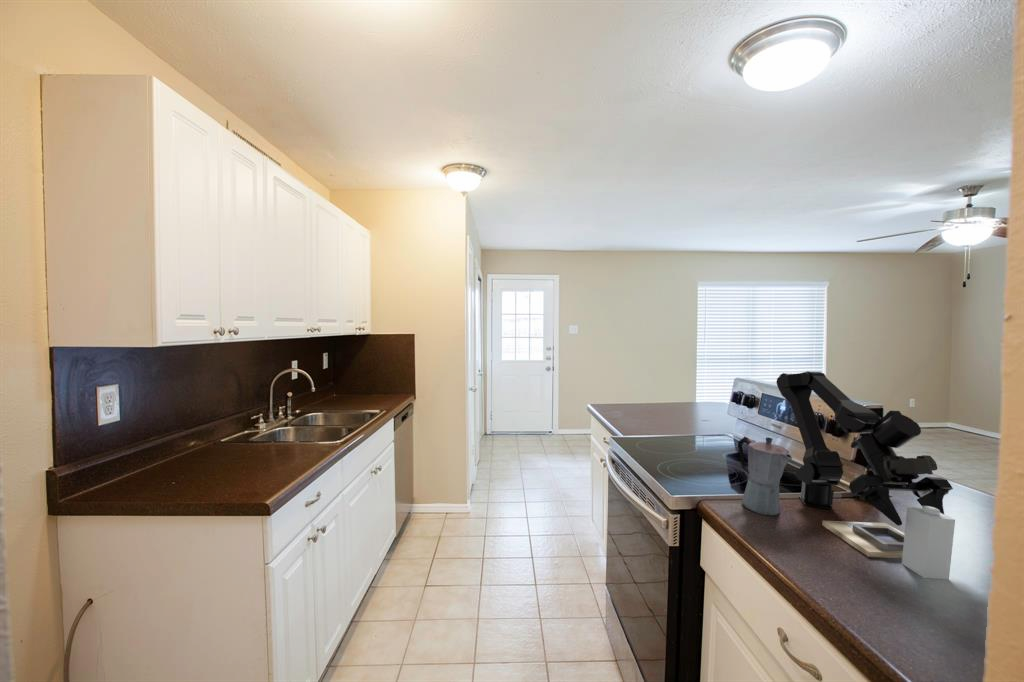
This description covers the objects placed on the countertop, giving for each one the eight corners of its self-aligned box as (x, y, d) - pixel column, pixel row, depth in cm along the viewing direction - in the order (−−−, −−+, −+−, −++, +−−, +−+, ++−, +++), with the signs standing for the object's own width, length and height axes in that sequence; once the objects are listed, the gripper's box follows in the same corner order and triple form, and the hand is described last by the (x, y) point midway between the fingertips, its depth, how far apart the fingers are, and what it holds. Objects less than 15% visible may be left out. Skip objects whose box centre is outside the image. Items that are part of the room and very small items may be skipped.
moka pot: (776, 524, 106) (782, 446, 105) (721, 499, 120) (726, 430, 119) (798, 516, 111) (804, 442, 109) (743, 493, 124) (747, 427, 123)
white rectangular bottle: (901, 563, 90) (907, 502, 90) (925, 564, 90) (931, 503, 90) (924, 578, 85) (930, 513, 85) (948, 579, 85) (955, 514, 85)
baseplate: (822, 525, 106) (823, 514, 106) (885, 527, 106) (886, 517, 106) (868, 556, 92) (869, 545, 92) (941, 560, 92) (942, 548, 92)
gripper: (863, 439, 93) (904, 510, 83) (948, 442, 93) (1000, 514, 83) (833, 461, 102) (868, 528, 91) (911, 464, 101) (955, 532, 91)
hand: (922, 525), depth 89 cm, fingers open, 9 cm apart
